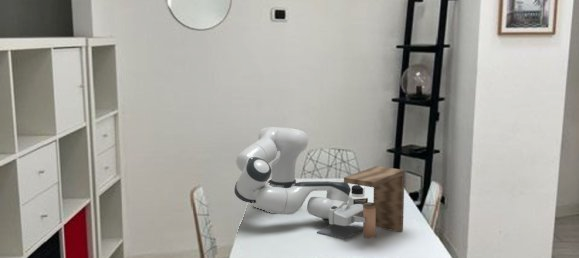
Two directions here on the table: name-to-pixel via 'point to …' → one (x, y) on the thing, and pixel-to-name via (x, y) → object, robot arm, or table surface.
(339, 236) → the grey mat
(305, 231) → the table surface
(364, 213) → the terracotta jar
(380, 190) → the walnut stand
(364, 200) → the medicine bottle
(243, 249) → the table surface
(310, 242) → the table surface
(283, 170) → the robot arm
